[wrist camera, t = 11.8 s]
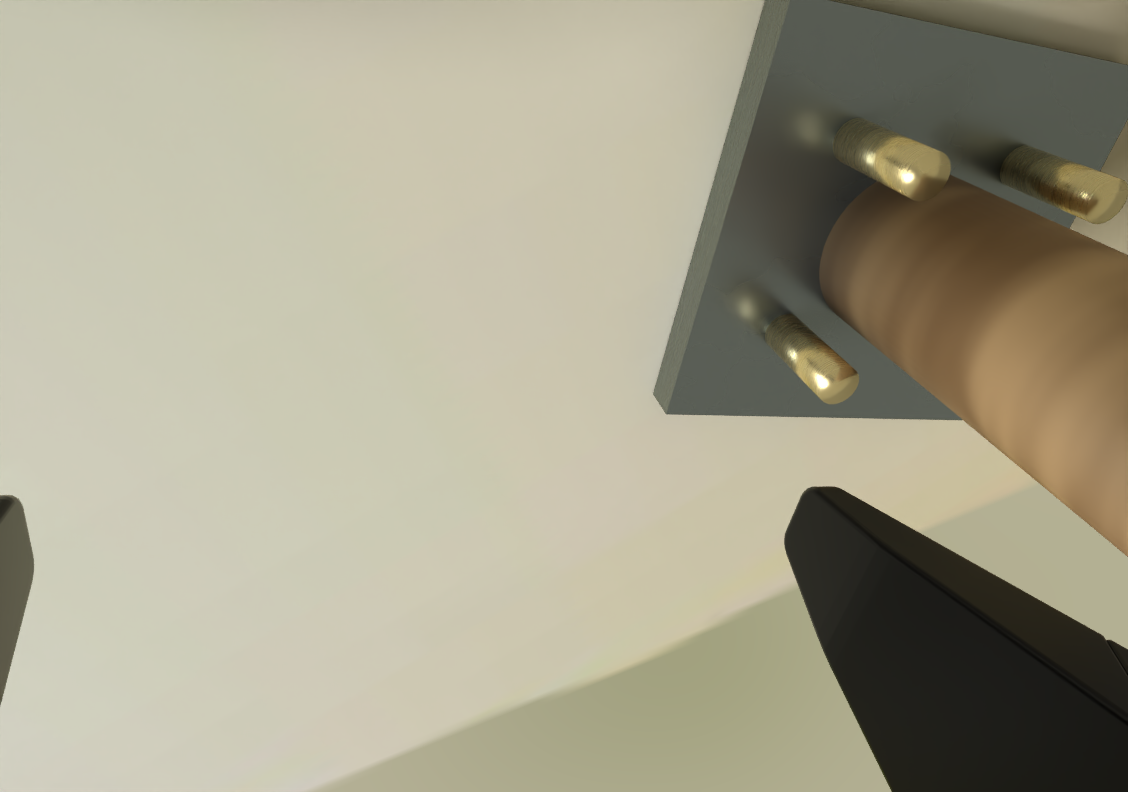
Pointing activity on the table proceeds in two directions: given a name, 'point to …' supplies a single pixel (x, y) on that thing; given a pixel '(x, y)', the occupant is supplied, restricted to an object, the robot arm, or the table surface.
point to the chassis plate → (845, 169)
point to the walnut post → (999, 330)
